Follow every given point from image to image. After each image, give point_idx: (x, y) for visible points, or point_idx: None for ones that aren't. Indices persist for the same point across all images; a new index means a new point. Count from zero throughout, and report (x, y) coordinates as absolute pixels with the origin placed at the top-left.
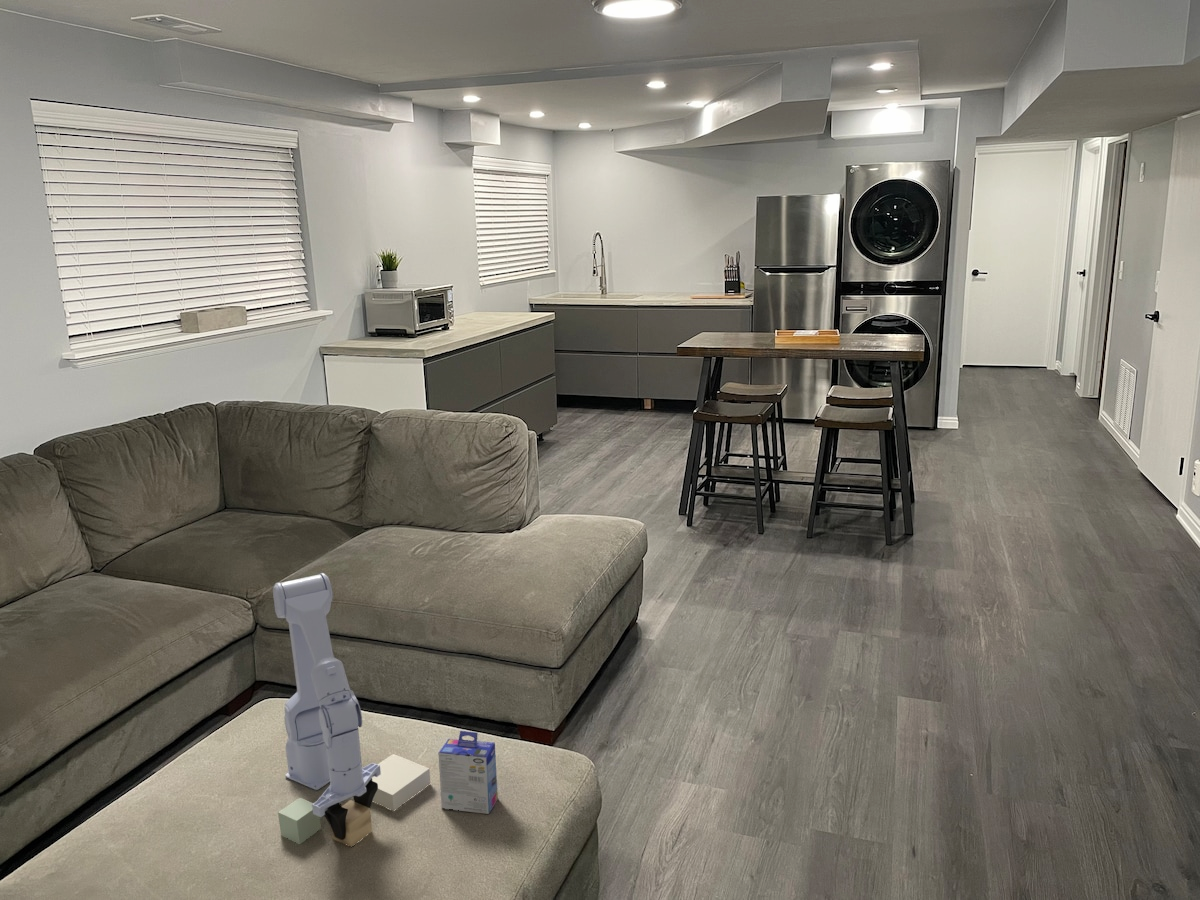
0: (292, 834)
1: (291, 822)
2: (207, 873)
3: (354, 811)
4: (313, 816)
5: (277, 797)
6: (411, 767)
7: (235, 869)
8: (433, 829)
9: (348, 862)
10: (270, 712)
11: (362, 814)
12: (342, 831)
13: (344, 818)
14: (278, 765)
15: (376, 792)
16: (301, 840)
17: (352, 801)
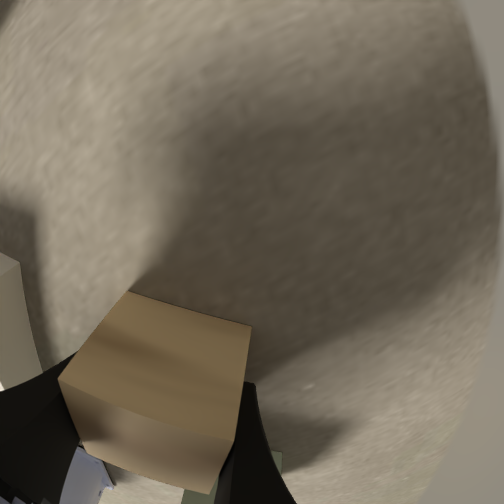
0: None
1: None
2: (389, 494)
3: (127, 438)
4: (211, 492)
5: (159, 492)
6: None
7: (382, 482)
8: (37, 42)
9: (350, 293)
10: None
11: (117, 402)
12: (259, 423)
13: (243, 490)
14: None
15: (5, 357)
16: (273, 458)
17: (86, 447)
